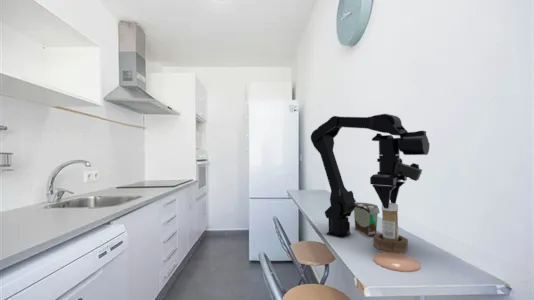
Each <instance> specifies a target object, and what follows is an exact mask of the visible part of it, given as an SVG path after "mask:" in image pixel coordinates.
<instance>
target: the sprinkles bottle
mask: <svg viewBox="0 0 534 300" xmlns="http://www.w3.org/2000/svg"><path fill="white" fill-rule="evenodd" d="M381 211H382V220H381V224H382V226H381V227H382V228H381V229H382V233H383V240H387V241H392V242H393V241H398V235H399V223H398V221H399V217H398V213H399V205H398V203H396V204H395V203H391V202H389V208H388V209H386V208H384V207H383V205H382V204H381Z"/></svg>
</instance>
